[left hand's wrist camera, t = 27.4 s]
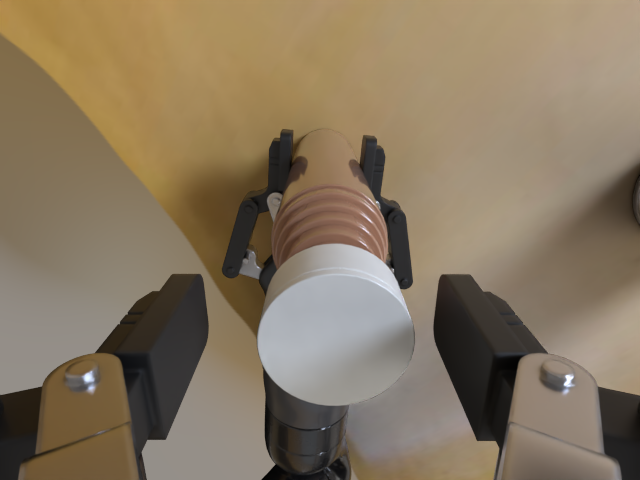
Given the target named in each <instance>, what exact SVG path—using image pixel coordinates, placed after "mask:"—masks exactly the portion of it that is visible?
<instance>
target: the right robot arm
mask: <svg viewBox="0 0 640 480" xmlns="http://www.w3.org/2000/svg"><path fill="white" fill-rule="evenodd" d="M292 150H293V130H285V129H283V130H282V131H281V135H280V138H274V140H273V141H272V144H271V146H270V148H269V176H268V187H267V188H265V189H263V190H259V191H250V192H249V193H247V195H246V196H245V198H244V200H243V201H242V203H241V205H240V207H239V211H238V215H237V218H236V222H235V225H234V229H233V232H232V236H231V239H230V243H229V246H228V250H227V253H226V257H225V260H224V264H223V267H222V272H223V274H224V275H225V276H226V277H228V278H235V277H237V276H238V274H242V275H245V276H249V277H252V278H255V279H258V280H259V283H260V285H261V287H262V289H263V290H264V293H265V298H266V294H267V290H268V287H269V284H270V282H271V279H272V277H273V276H274V274H275V273H276V271H277V268H276V266H275V263H274V260H273V255H271V256H270V257H269V258H268V259H267V260H266V261H265V263H264V264H263V263H261V262H260V261H259V260H258V258H257V249H256V248H255V247H254V246H253V245H250V244H249V243H250V240H251V237H252V233H253V230H254V227H255V224H256V220H257V217H258V214H259V213H262V212H266V211H270V213H271V217H272V220H273V223H274V220H275V217H276V213H277V210H278V207H279V204H280V201H281V197H282V194H283V191H284V188H285V185H286V181H287V178H288V175H289V172H290V169H291V165H292ZM384 164H385V154H384V150H383V148H382V147H381V146H378V145H377V139H376V138H375V137H374V136H367V135H364V136H363V140H362V148H361V157H360V167H361V169H362V171H363V174H364V176H365V178H366V180H367V182H368V185H369V187H370V189H371V191H372V193H373V195H374V198H375V200H376V202H377V204H378V206H379V209H380V211H381V213H382V215H383V217H384V220H385V223H386V227H387V235H388V254H387V258H386V262H385V264H386V265H387V266H388V267H389V269H390V270H391V272H392V273H393V274H394V276H395V278H396V280H397V282H398V285H399V288H400V289H407V288H409V287H410V286H411V285H412V283H413V278H412V269H411V260H410V251H409V242H408V233H407V224H406V216H405V214H404V213H403V211H402V210H401V209H400V206H399V204H398V203H397V202H396V201H393V200H390V201H389V200H387V199H385V198H383V197H381V186H382V178H383V171H384ZM633 210H634V214H635V217H636V219H637V221H638V223H639V224H640V176H639V178H638V180H637V183H636V186H635V189H634V194H633ZM262 366H263V365H262ZM263 378H264V387H265V393H266V401H265V441H266V447H267V450H268V453H269V455H270V457H271V459H272V460H273V462H274V463H275V464H276V465H275V466H274V467H273V468H272V469H271V470H270V471H269V472H268V473H267V475H265V476H264V478H263V479H262V480H351V465H350V459H349V454H348V447H347V443H346V439H345V430H346V424H347V416H348V408H349V405H341V406H327V405H319V404H314V403H310V402H307V401H304V400H301V399H299V398H297V397H295V396H293V395H291V394H289V393H288V392H286V391H284V390H283V389H282V388H281V387H279V386H278V385H277V384H276V383H275V382H274V381H273V380H272V379H271V378H270V376H269V375H268V373H267V372H266V371H265V369H264V367H263Z"/></svg>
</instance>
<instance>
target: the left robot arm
mask: <svg viewBox="0 0 640 480" xmlns="http://www.w3.org/2000/svg"><path fill="white" fill-rule="evenodd" d="M207 338H208V315H207V307H206V299H205V290H204V282H203V278H202V276H201V275H200V274H172V275H171V276H170V278H169V279H168V280H167V282H166V283H165V284H164V286H163V287H162V288H161V290H160V291H152V292H151V293H149V294H147V295H146V296H144V297H143V298H141V299H139V300H138V301H137V302H136V303H135V304H134V305H133V307H132V308H131V309H130V310H129V312H128V315H125V317H124V318H123V319H122V320H121V321H120V324H118V325H117V326H116V328H115V329H114V330H113V331H112V332H111V334H110V335H109V336H108V337H107V339H106V340H105V341H104V342H103V344H102V345H101V346H100V347H99V349H98V350H97V351H96V352H95V353H94V354H88V355H83V356H80V357H77V358H74V359H72V360H69V361H67V362H65V363H63V364H62V365H60V366H59V367H57V368H56V369H55V370H53V371H52V372H51V373H50V374H49V375H48V376H47V378H46V379H45V381H44V383H43V386H42V387H38V388H33V389H28V390H23V391H19V392H14V393H9V394H5V395H0V480H147V479H146V473H145V468H144V462H143V458H142V453H141V452H142V450H143V448H144V446H145V444H146V441H147V440H165V439H166V438H167V435H168V433H169V431H170V428H171V426H172V423H173V421H174V419H175V417H176V414H177V412H178V409H179V407H180V405H181V402H182V400H183V398H184V395H185V393H186V390H187V388H188V386H189V383H190V381H191V379H192V376H193V374H194V372H195V369H196V367H197V365H198V362H199V360H200V357H201V355H202V353H203V350H204V348H205V346H206V343H207ZM434 339H435V343H436V346H437V348H438V351H439V353H440V355H441V358H442V360H443V362H444V365H445V367H446V369H447V372H448V374H449V376H450V379H451V381H452V383H453V386H454V388H455V390H456V392H457V395H458V397H459V399H460V402H461V404H462V406H463V409H464V411H465V413H466V416H467V418H468V420H469V423H470V425H471V427H472V430H473V432H474V434H475V437H476V439H477V441H496V442H497V444H498V446H499V448H500V449H499V453H498V458H497V462H496V468H495V473H494V479H493V480H640V396H639V395H634V394H629V393H625V392H620V391H615V390H610V389H606V388H602V387H598V386H597V382H596V381H595V379H594V378H593V376H592V375H591V374H590V373H589V372H588V371H587V370H585V369H584V368H583V367H581V366H580V365H578V364H577V363H575V362H573V361H571V360H568V359H566V358H563V357H560V356H557V355H552V354H548V353H547V352H546V350H545V349H544V348H543V347H542V345H541V344H540V343H539V342H538V341H537V339H536V338H535V337H534V336H533V334H532V333H531V332H530V331H529V330H528V328H527V327H526V326H525V325H523V322H522V321H521V320H520V319H519V317H518V316H517V315H515V313H514V311H513V310H512V309H511V308H510V306H509V305H508V304H507V303H506V302H505V301H504V300H502V299H501V298H499V297H497V296H496V295H494V294H493V293H491V292H483V291H482V290H481V288H480V287H479V286H478V284H477V283H476V282H475V280H474V279H473V278H472V276H471V275H468V274H443V275H441V277H440V279H439V284H438V292H437V300H436V308H435V317H434Z"/></svg>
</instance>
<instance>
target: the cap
mask: <svg viewBox="0 0 640 480" xmlns="http://www.w3.org/2000/svg"><path fill="white" fill-rule="evenodd" d="M414 344H415V332H414V326H413V323H412V320H411V317H410V314H409V311H408V309H407V306H406V304H405V301H404V298H403V296H402V293H401V290H400V288H399V285H398V282H397V280H396V278H395V276H394V274H393V273H392V272H391V270H390V269H389V267H388V266H387V265H386V264H385V263H384V262H383V261H381V260H380V259H379V258H378V257H376V256H375V255H373V254H371V253H370V252H368V251H366V250H363V249H361V248H358V247H355V246H351V245H345V244H323V245H317V246H313V247H311V248H308V249H305V250H303V251H301V252H299V253H297V254H295V255H294V256H292V257H291V258H289V259H288V260H287V261H286V262H285V263H283V264H282V265H281V267H280V268H279V269H278V270H277V271H276V273H275V274H274V276H273V277H272V279H271V282H270V284H269V287H268V290H267V294H266V298H265V302H264V306H263V310H262V314H261V318H260V323H259V327H258V332H257V349H258V354H259V357H260V360H261V363H262V365H263V367H264V369H265V371H266V372H267V373H268V375H269V376H270V378H271V379H272V380H273V381H274V382H275V383H276V384H277V385H278V386H279V387H281V388H282V389H283V390H284V391H286V392H288V393H289V394H291V395H293V396H295V397H297V398H299V399H301V400H304V401H307V402H310V403H314V404H319V405H327V406H341V405H350V404H355V403H359V402H362V401H366V400H368V399H371V398H373V397H375V396H377V395H379V394H381V393H382V392H384V391H385V390H387V389H388V388H390V387H391V386H392V385H393V384H394V383H395V382H396V381H397V380H398V379H399V378H400V377H401V375H402V374H403V373H404V371H405V370H406V368H407V366H408V364H409V362H410V360H411V357H412V354H413V351H414Z"/></svg>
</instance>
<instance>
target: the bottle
mask: <svg viewBox="0 0 640 480" xmlns="http://www.w3.org/2000/svg"><path fill="white" fill-rule="evenodd" d="M323 244H345V245H351V246H355V247H358V248H361V249H363V250H366V251H368V252H370V253H371V254H373V255H375V256H376V257H378V258H379V259H380V260H381V261H383V262H384V263H385V262H386V258H387V253H388V235H387V227H386V223H385V220H384V217H383V215H382V213H381V211H380V209H379V206H378V204H377V202H376V200H375V198H374V195H373V193H372V191H371V189H370V187H369V185H368V182H367V180H366V178H365V176H364V174H363V171H362V169H361V167H360V165H359V163H358V160H357V158H356V156H355V154H354V152H353V149H352V147H351V145H350V143H349V142H348V140H347V139H346V138H345V137H344V136H343V135H342V134H340V133H338V132H336V131H334V130H330V129H319V130H315V131H313V132H311V133H309V134H307V135H306V136H305V137H304V138H303V139H302V140H301V141H300V143H299V145H298V147H297V149H296V152H295V156H294V159H293V162H292V165H291V169H290V172H289V175H288V178H287V181H286V185H285V188H284V191H283V194H282V197H281V201H280V204H279V207H278V210H277V213H276V217H275V220H274V223H273V227H272V233H271V245H272V255H273V260H274V263H275V266H276V268H277V270H278V269H279V268H280V267H281V265H282V264H283V263H285V262H286V261H287V260H288V259H289V258H291V257H292V256H294V255H295V254H297V253H299V252H301V251H303V250H305V249H308V248H311V247H313V246H317V245H323Z"/></svg>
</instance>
